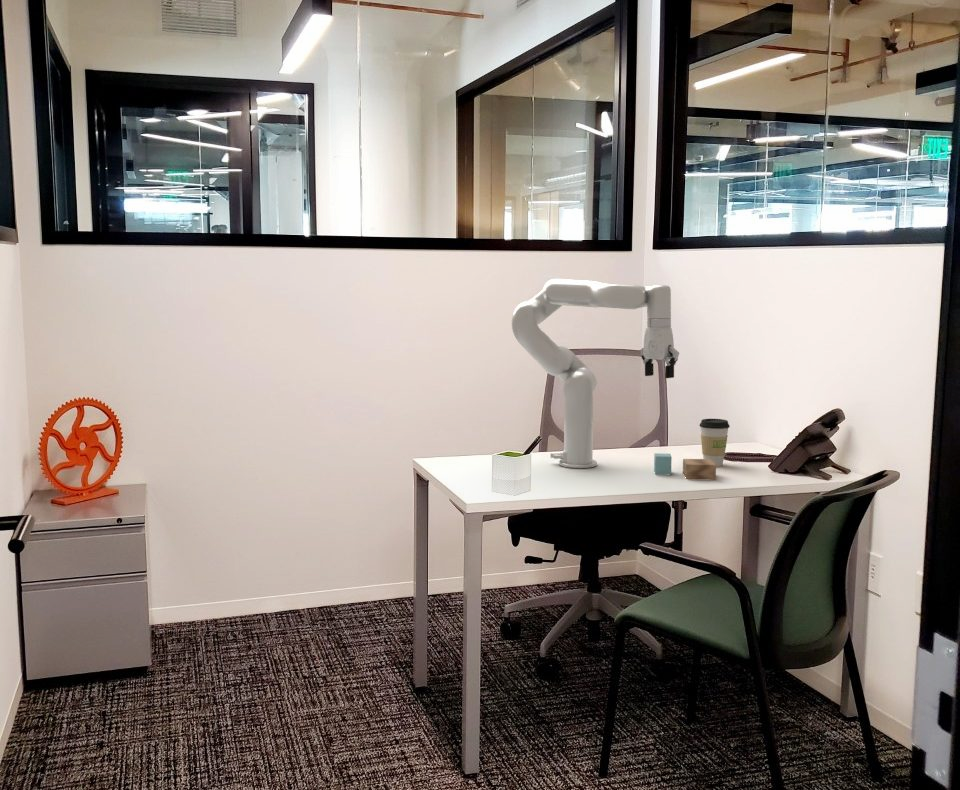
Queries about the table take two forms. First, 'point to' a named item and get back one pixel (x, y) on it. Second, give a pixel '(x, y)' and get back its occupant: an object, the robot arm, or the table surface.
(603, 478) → the table surface
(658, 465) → the teal block
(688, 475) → the walnut box
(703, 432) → the coffee cup
